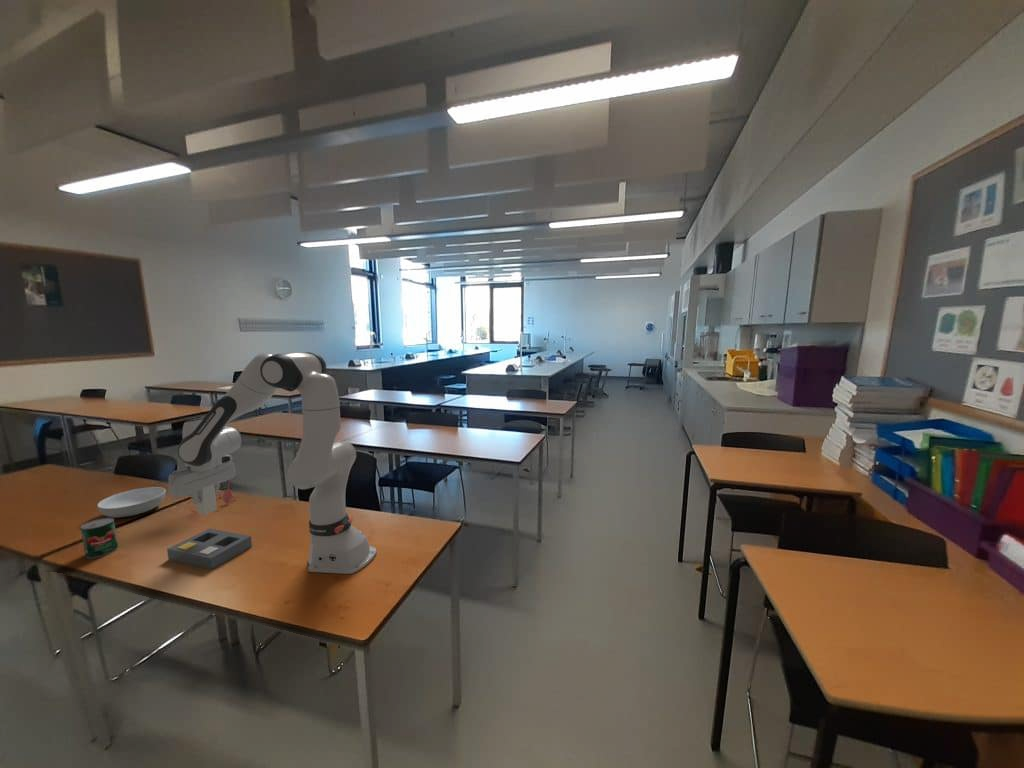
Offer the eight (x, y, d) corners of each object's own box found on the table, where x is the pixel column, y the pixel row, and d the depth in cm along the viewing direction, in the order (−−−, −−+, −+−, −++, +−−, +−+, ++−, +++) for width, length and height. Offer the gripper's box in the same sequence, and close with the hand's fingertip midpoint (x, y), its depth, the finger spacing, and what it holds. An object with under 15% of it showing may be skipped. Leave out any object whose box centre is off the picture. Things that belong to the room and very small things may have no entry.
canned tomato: (106, 544, 137) (102, 516, 135) (124, 546, 135) (120, 518, 134) (78, 557, 129) (73, 527, 127) (97, 559, 128) (92, 529, 126)
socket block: (252, 546, 136) (250, 535, 135) (212, 569, 122) (210, 557, 122) (211, 538, 141) (209, 527, 140) (168, 559, 128) (166, 548, 127)
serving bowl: (83, 523, 152) (81, 507, 151) (136, 500, 173) (134, 486, 172) (133, 524, 151) (130, 508, 150) (180, 501, 172) (178, 487, 171)
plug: (216, 510, 135) (214, 483, 134) (205, 515, 131) (202, 488, 130) (208, 508, 136) (206, 482, 135) (196, 513, 133) (194, 486, 131)
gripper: (174, 474, 121) (179, 514, 122) (236, 454, 140) (239, 489, 142) (161, 471, 122) (165, 511, 124) (224, 452, 142) (227, 487, 144)
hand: (205, 499), depth 133 cm, fingers closed on plug, 4 cm apart
